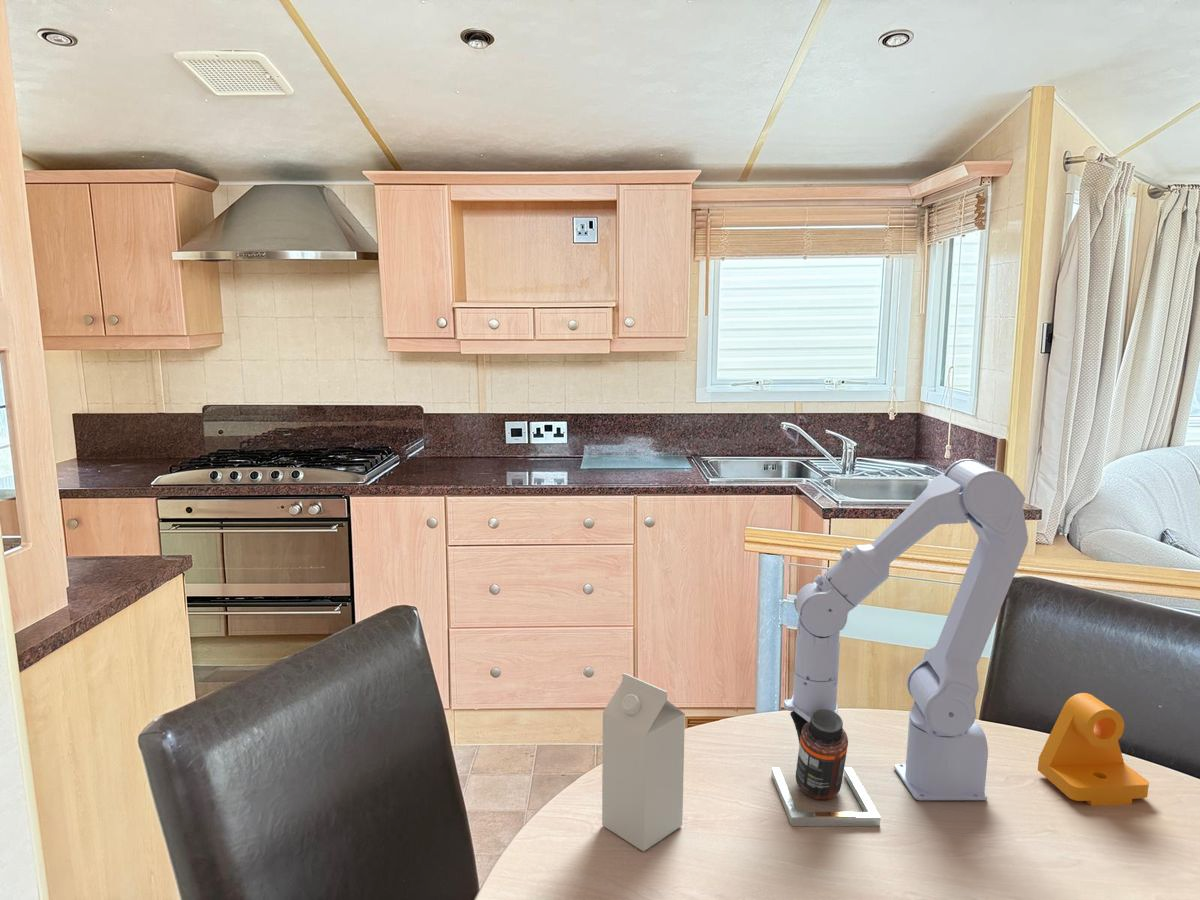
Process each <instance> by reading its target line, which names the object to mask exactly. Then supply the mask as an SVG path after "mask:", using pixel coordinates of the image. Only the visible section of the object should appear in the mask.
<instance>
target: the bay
mask: <svg viewBox="0 0 1200 900" xmlns="http://www.w3.org/2000/svg"><path fill="white" fill-rule="evenodd" d="M843 777H844V779H845V780H846V782H847V784H848V786H849V787H850V789H851V791H852V793H853V794H854V796H855V798H856V801H857V802H858V804H859V805H860V807H861V809H862V811H863V812H862V811H861V812H857V811H856V812H855V811H813V812H811V811H810V812H808V811H807V812H806V811H804V812H798V809H797V806H796V805H795V802H794V800H793V797H792V795H791V793H790V790H789V788H788V785H787V784H786V780H785V778H784V776H783V774H782V772H781V769H780V767H771V778H772V781H773V783H774V785H775V788H776V791H777V792H778V796H779V798H780V801H781V803H782V806H783V809H784V811H785V813H786V816H787V818H788V821H789V824H790V825H791V827H880V826H881V815H880V814H879V812H878V811H877V809H876V807H875V805H874V804H873V802H872V800H871V798H870V796H869V795H868V794H867V791H866V789H865V787H864V786H863V785H862V783H861V782H860V780H859V777H858V776H857V775H856V772H855V771H854V769H853V768H852V767H844V772H843Z"/></svg>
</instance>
